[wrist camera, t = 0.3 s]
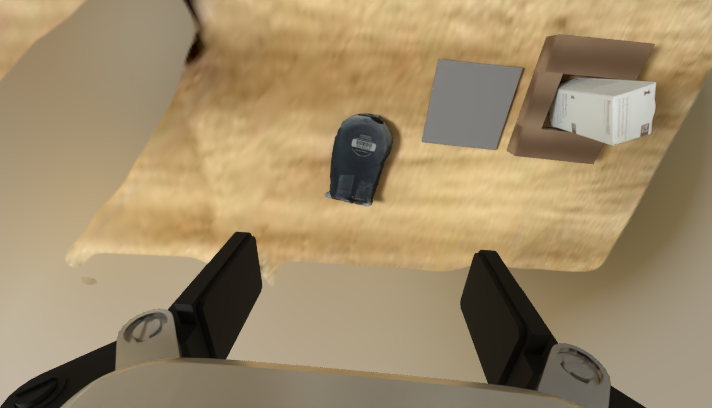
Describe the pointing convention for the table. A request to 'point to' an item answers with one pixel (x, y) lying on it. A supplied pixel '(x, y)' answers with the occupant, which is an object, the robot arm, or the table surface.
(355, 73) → the table surface
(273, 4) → the table surface
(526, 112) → the walnut socket block
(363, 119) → the electronic device
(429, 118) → the grey rubber mat
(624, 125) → the skincare box
